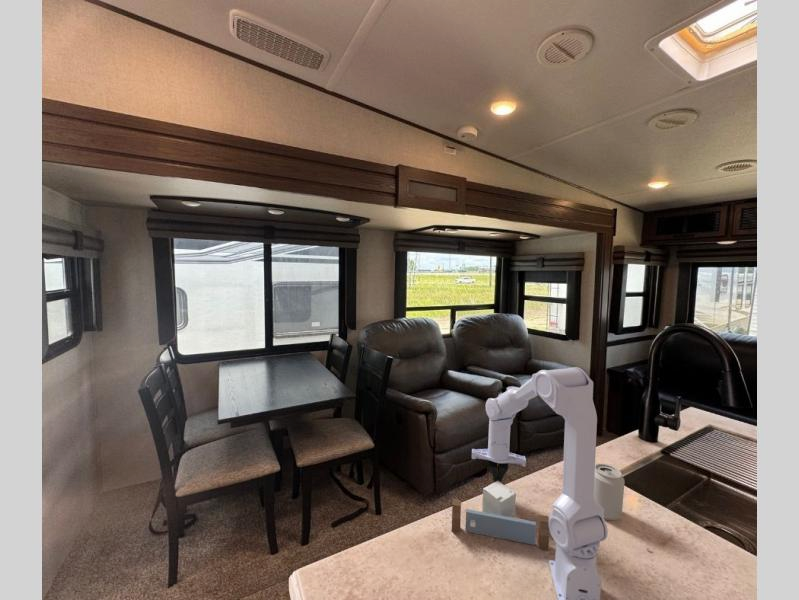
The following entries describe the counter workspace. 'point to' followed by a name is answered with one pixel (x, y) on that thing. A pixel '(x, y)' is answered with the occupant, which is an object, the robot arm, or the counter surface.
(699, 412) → the counter surface
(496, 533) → the door leaf
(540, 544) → the door frame
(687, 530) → the counter surface
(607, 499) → the can
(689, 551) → the counter surface
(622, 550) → the counter surface
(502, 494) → the skincare box
